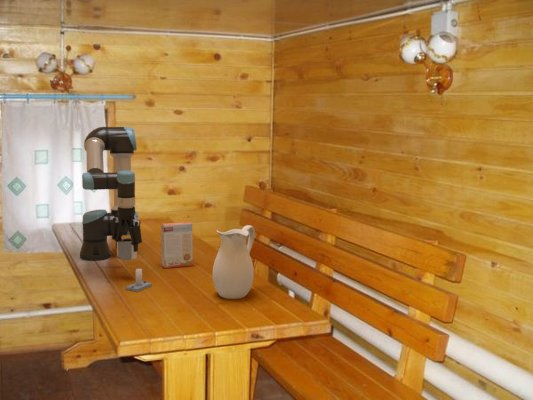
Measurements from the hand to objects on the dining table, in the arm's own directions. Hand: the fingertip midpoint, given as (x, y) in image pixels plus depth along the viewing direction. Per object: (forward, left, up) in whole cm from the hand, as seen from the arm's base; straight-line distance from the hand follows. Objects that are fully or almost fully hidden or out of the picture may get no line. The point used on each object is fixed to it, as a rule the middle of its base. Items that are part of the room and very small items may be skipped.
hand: (127, 257), depth 282 cm
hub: (0, 0, 0) cm, 0 cm away
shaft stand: (+13, -8, -10) cm, 19 cm away
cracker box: (+6, +29, -10) cm, 31 cm away
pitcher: (+52, +8, -10) cm, 54 cm away
